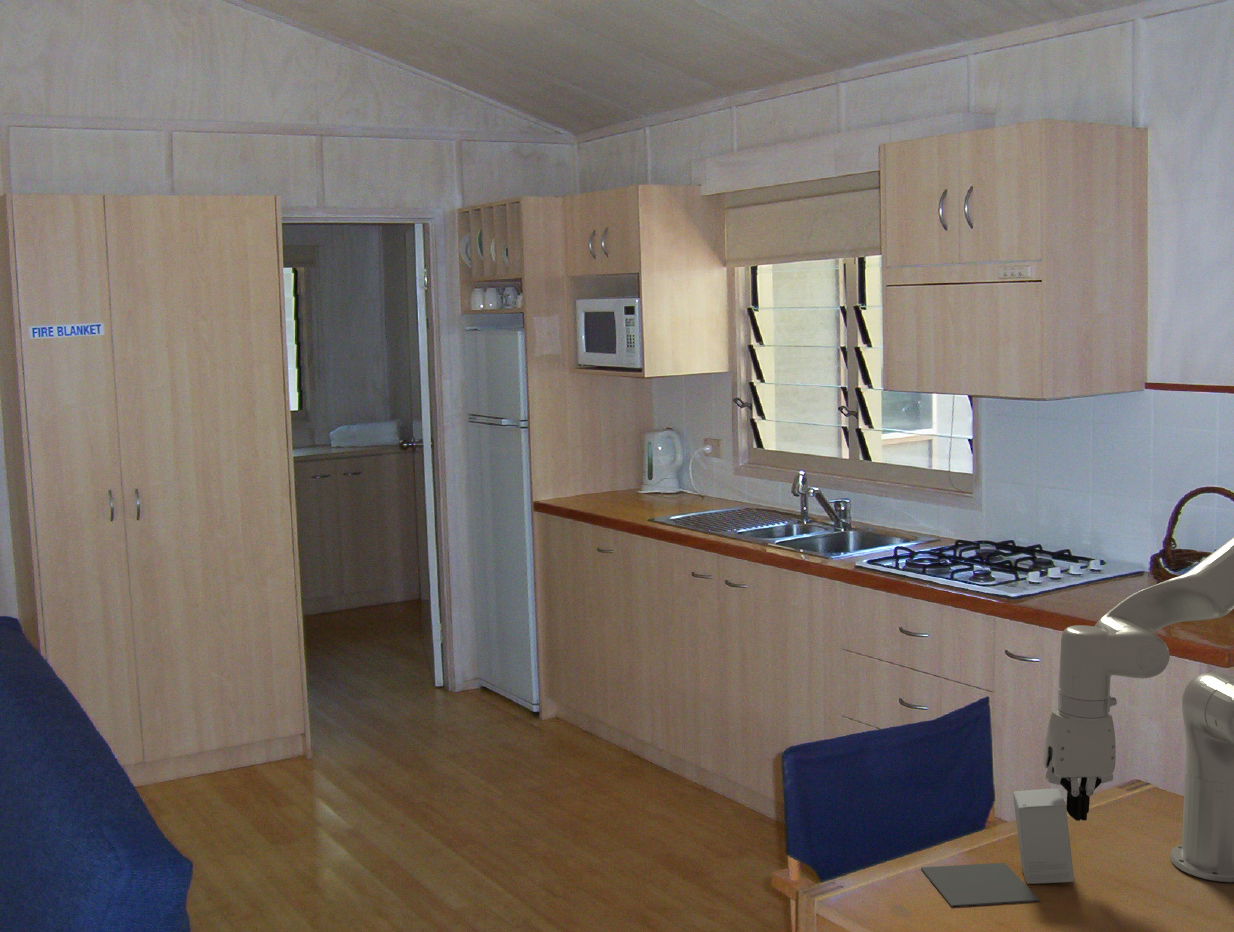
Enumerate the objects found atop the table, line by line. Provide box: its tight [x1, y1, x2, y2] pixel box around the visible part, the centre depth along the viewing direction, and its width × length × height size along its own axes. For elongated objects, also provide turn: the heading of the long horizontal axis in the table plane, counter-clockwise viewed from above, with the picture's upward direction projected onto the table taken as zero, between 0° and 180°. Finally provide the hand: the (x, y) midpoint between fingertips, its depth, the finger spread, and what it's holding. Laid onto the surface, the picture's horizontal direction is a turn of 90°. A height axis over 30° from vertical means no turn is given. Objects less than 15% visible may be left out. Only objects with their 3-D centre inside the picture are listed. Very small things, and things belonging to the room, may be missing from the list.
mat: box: [920, 862, 1041, 908], centre depth 194 cm, size 14×13×1 cm
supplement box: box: [1012, 788, 1075, 885], centre depth 196 cm, size 7×7×13 cm
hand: (1077, 817), depth 196 cm, fingers closed
